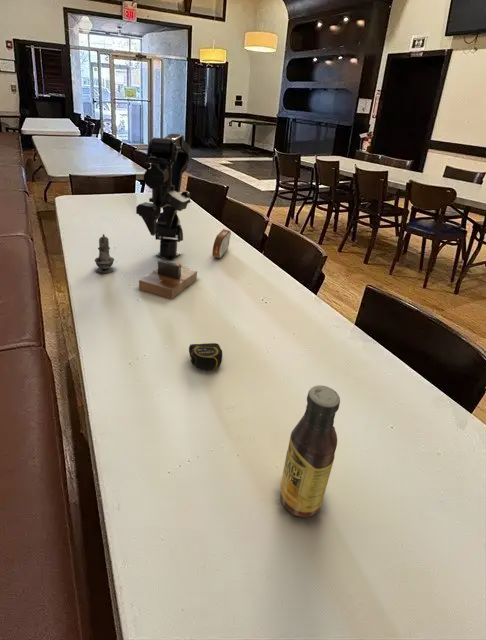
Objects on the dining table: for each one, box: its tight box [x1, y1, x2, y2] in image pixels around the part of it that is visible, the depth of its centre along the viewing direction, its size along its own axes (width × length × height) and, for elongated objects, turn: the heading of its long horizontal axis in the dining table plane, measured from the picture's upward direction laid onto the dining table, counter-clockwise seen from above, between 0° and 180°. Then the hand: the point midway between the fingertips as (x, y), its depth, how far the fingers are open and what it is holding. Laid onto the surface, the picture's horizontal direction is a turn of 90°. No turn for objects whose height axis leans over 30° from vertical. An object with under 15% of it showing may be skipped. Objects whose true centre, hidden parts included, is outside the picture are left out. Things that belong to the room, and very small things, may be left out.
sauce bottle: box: [279, 384, 341, 518], centre depth 57 cm, size 6×6×20 cm
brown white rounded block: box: [211, 228, 232, 259], centre depth 149 cm, size 15×3×8 cm, turn 164°
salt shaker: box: [94, 233, 115, 275], centre depth 127 cm, size 6×6×12 cm
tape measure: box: [188, 342, 223, 371], centre depth 88 cm, size 7×7×4 cm
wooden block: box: [138, 266, 198, 300], centre depth 123 cm, size 15×11×3 cm
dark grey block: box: [157, 259, 182, 279], centre depth 122 cm, size 7×2×4 cm, turn 66°
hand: (160, 231), depth 128 cm, fingers open, 9 cm apart
